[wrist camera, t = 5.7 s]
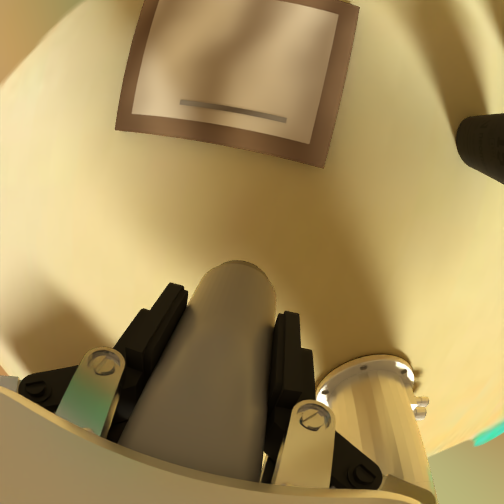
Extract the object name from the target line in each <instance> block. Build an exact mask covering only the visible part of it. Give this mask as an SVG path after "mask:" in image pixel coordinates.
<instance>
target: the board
mask: <svg viewBox="0 0 504 504" xmlns="http://www.w3.org/2000/svg"><path fill="white" fill-rule="evenodd" d="M359 9H360V7H358V6H355V5H352V4H349V3H345V2H342V1H339V0H145V1H144V4H143V7H142V10H141V13H140V16H139V20H138V23H137V26H136V30H135V34H134V37H133V41H132V45H131V49H130V53H129V57H128V61H127V65H126V70H125V74H124V79H123V84H122V89H121V95H120V100H119V106H118V112H117V119H116V125H115V130H119V131H129V132H138V133H147V134H155V135H163V136H170V137H177V138H183V139H190V140H196V141H202V142H208V143H214V144H219V145H224V146H230V147H235V148H240V149H245V150H249V151H254V152H259V153H263V154H268V155H272V156H276V157H281V158H285V159H289V160H293V161H297V162H301V163H305V164H309V165H312V166H316V167H320V168H324V165H325V161H326V158H327V154H328V150H329V146H330V142H331V138H332V134H333V130H334V126H335V122H336V118H337V113H338V109H339V105H340V101H341V96H342V92H343V88H344V83H345V79H346V74H347V69H348V65H349V60H350V55H351V50H352V45H353V40H354V35H355V30H356V25H357V20H358V14H359Z"/></svg>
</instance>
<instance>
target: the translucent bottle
mask: <svg viewBox="0 0 504 504" xmlns="http://www.w3.org/2000/svg"><path fill="white" fill-rule="evenodd" d="M275 311H276V295H275V291H274V288H273V286H272V285H271V283H270V281H269V280H268V278H267V276H266V275H265V273H264V272H263V271H262V270H261V269H260V268H258V267H257V266H255V265H254V264H251V263H249V262H246V261H238V260H236V261H229V262H225V263H223V264H221V265H220V266H217V267H215V268H213V269H211V270H210V271H209V272H207V273H206V274H205V275H204V277H203V278H202V279H201V281H200V283H199V285H198V287H197V288H196V290H195V292H194V294H193V296H192V298H191V299H190V301H189V303H188V305H187V307H186V309H185V311H184V313H183V315H182V316H181V318H180V320H179V322H178V324H177V326H176V328H175V330H174V332H173V334H172V335H171V337H170V339H169V341H168V343H167V345H166V347H165V349H164V351H163V353H162V355H161V357H160V359H159V360H158V362H157V364H156V366H155V368H154V370H153V372H152V374H151V376H150V378H149V380H148V382H147V384H146V386H145V388H144V390H143V392H142V394H141V396H140V398H139V400H138V402H137V404H136V406H135V408H134V410H133V412H132V414H131V416H130V418H129V420H128V422H127V424H126V426H125V428H124V430H123V432H122V434H121V437H120V439H119V441H118V443H117V444H119V445H121V446H124V447H126V448H129V449H131V450H134V451H137V452H139V453H142V454H145V455H148V456H151V457H154V458H157V459H160V460H163V461H166V462H169V463H172V464H176V465H179V466H183V467H186V468H190V469H194V470H198V471H202V472H206V473H210V474H215V475H219V476H224V477H229V478H235V479H240V480H246V481H252V482H259V483H260V478H261V470H262V460H263V451H264V441H265V431H266V421H267V411H268V407H267V403H268V392H269V381H270V369H271V357H272V345H273V332H274V326H275Z"/></svg>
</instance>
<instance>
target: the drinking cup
mask: <svg viewBox="0 0 504 504" xmlns="http://www.w3.org/2000/svg"><path fill="white" fill-rule="evenodd" d="M456 143H457V149H458V152H459V155H460V157H461V158H462V160H463V161H464V162H465V163H466V164H467V165H468V166H470V167H472V168H474V169H476V170H478V171H480V172H482V173H483V174H485V175H487V176H489V177H491V178H493V179H495V180H497V181H498V182H500V183H502V184H504V113H501V114H491V115H481V116H473V117H468V118H466V119H464V120H463V121H462V122H461V124H460V126H459V128H458V130H457V136H456Z"/></svg>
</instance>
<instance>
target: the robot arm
mask: <svg viewBox="0 0 504 504" xmlns="http://www.w3.org/2000/svg"><path fill="white" fill-rule="evenodd" d="M187 299H188V291H186V290H184V286H182V285H178V284H174V283H169V284H168V286H167V287H166V288H165V290H164V291H163V293H162V294H161V295H160V297H159V298H158V300H157V301H156V302H155V304H154V305H153V307H152V308H151V310H147V309H144V308H143V309H141V310H140V311H139V313H138V314H137V316H136V317H135V318H134V320H133V321H132V322H131V324H130V325H129V326H128V328H127V329H126V331H125V332H124V333H123V335H122V336H121V338H120V339H119V340H118V342H117V343H116V345H115V346H114V347H113V349H112V348H109V347H97V348H94V349H91V350H90V351H88V352H87V353H86V354H85V355H84V357H83V359H82V360H81V362H80V364H79V365H77V366H72V367H67V368H62V369H57V370H51V371H46V372H40V373H34V374H31V375H28V376H26V377H25V378H24V379H23V380H19V377H13V376H0V504H439V503H438V499H437V494H436V490H435V486H434V483H433V478H432V474H431V470H430V467H429V463H428V459H427V456H426V452H425V448H424V445H423V442H422V438H421V435H420V432H419V428H418V425H417V422H416V420H423V419H424V418H425V416H426V408H425V407H426V406H427V405H428V404H429V398H428V397H415V396H414V393H413V391H412V389H413V386H414V380H415V378H414V373H413V371H412V369H411V366H410V365H409V364H408V363H407V362H406V361H405V360H403V359H402V358H399V357H396V356H393V355H385V354H383V355H371V356H365V357H361V358H358V359H354V360H352V361H350V362H347V363H345V364H343V365H341V366H339V367H338V368H336V369H334V370H333V371H332V372H330V373H329V374H328V375H327V376H326V377H325V378H324V379H323V380H322V381H321V382H320V384H319V386H318V387H317V390H316V393H315V379H314V366H313V354H312V350H309V349H304V348H301V339H300V318H299V314H298V313H293V312H289V311H285V312H284V314H280V313H279V314H278V317H277V320H276V323H275V326H274V332H273V345H272V357H271V369H270V381H269V392H268V403H267V407H268V411H267V421H266V431H265V441H264V452H265V453H266V454H267V455H266V457H265V461H264V464H263V468H262V471H261V478H260V483H259V482H252V481H246V480H240V479H235V478H229V477H224V476H219V475H215V474H210V473H206V472H202V471H198V470H194V469H190V468H186V467H183V466H179V465H176V464H172V463H169V462H166V461H163V460H160V459H157V458H154V457H151V456H148V455H145V454H142V453H139V452H137V451H134V450H131V449H129V448H126V447H124V446H121V445H119V444H117V443H118V441H119V439H120V437H121V434H122V432H123V430H124V428H125V426H126V424H127V422H128V420H129V418H130V416H131V414H132V412H133V410H134V408H135V406H136V404H137V402H138V400H139V398H140V396H141V394H142V392H143V390H144V388H145V386H146V384H147V382H148V380H149V378H150V376H151V374H152V372H153V370H154V368H155V366H156V364H157V362H158V360H159V359H160V357H161V355H162V353H163V351H164V349H165V347H166V345H167V343H168V341H169V339H170V337H171V335H172V334H173V332H174V330H175V328H176V326H177V324H178V322H179V320H180V318H181V316H182V315H183V313H184V311H185V309H186V307H187Z"/></svg>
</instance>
